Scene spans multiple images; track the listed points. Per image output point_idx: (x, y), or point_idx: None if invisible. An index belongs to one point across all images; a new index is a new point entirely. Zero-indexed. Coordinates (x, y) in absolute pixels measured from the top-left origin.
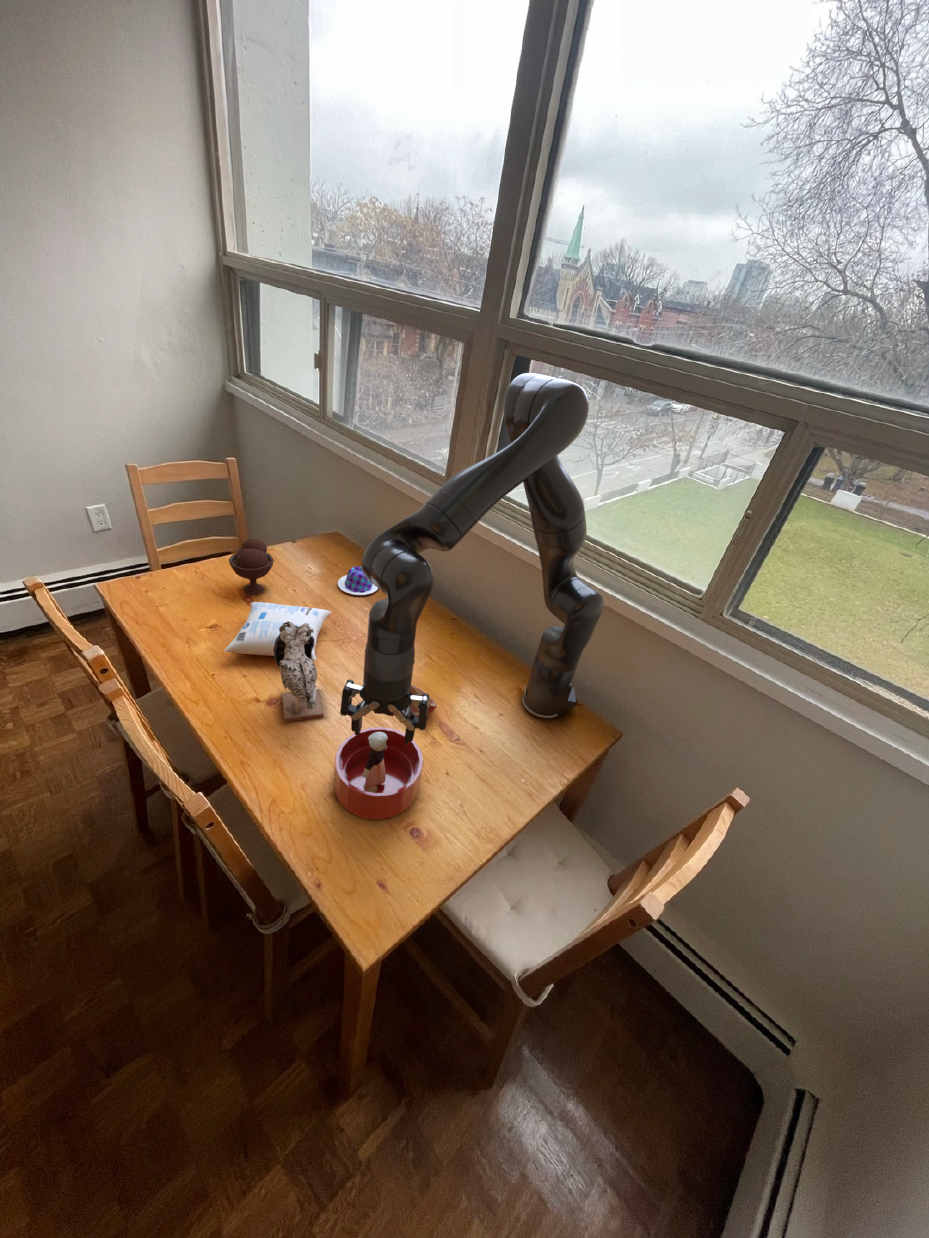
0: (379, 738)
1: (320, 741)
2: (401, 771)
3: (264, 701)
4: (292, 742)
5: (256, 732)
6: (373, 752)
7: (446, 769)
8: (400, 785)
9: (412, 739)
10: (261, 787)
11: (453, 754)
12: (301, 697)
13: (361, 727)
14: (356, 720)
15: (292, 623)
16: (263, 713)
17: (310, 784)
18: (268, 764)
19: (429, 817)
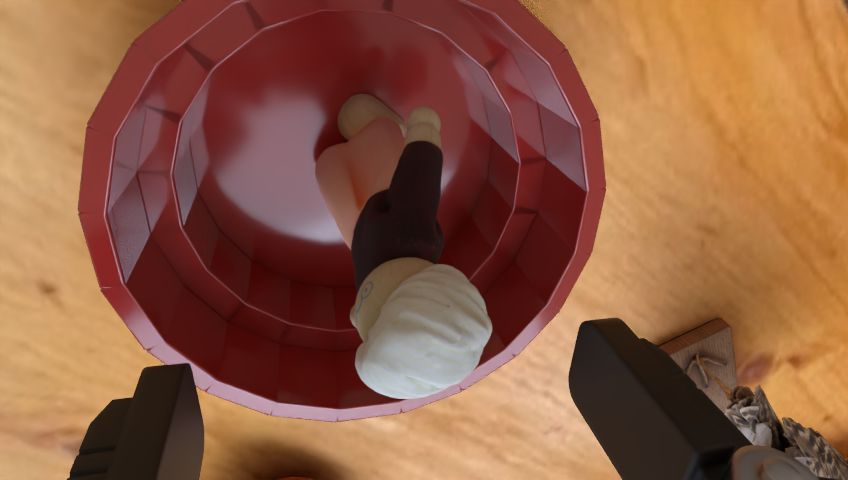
0: (419, 344)
1: (600, 282)
2: (260, 241)
3: (777, 363)
4: (691, 252)
5: (800, 255)
6: (422, 245)
7: (62, 307)
8: (240, 171)
9: (92, 429)
10: (786, 36)
11: (64, 382)
12: (801, 430)
13: (571, 386)
14: (721, 450)
15: None
16: (780, 325)
17: (614, 92)
18: (764, 143)
19: (23, 28)
